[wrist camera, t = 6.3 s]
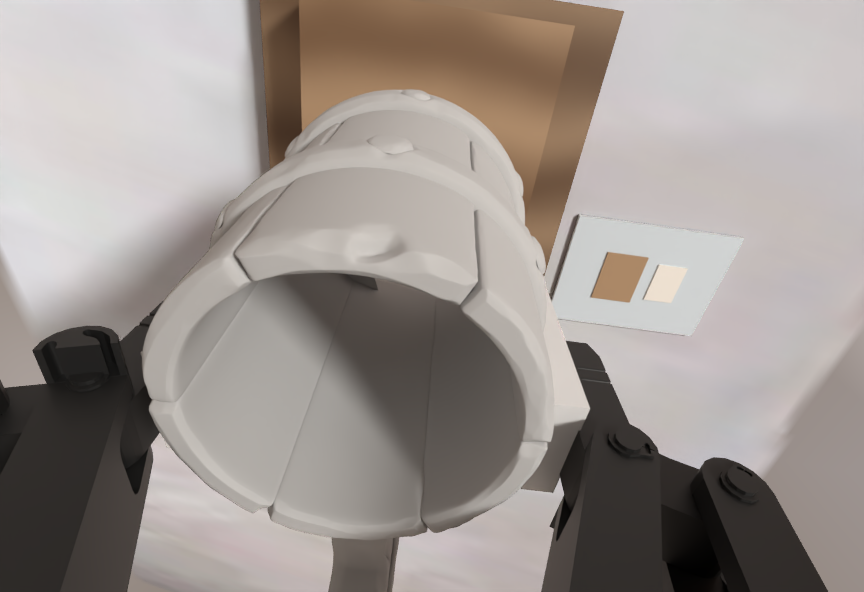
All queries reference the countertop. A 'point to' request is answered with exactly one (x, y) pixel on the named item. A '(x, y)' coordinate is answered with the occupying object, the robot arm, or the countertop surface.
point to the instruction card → (641, 274)
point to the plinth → (450, 74)
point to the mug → (364, 335)
